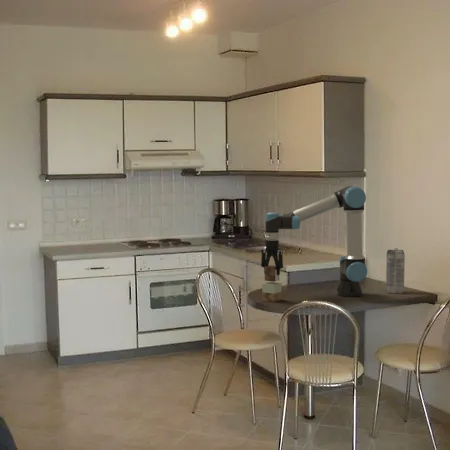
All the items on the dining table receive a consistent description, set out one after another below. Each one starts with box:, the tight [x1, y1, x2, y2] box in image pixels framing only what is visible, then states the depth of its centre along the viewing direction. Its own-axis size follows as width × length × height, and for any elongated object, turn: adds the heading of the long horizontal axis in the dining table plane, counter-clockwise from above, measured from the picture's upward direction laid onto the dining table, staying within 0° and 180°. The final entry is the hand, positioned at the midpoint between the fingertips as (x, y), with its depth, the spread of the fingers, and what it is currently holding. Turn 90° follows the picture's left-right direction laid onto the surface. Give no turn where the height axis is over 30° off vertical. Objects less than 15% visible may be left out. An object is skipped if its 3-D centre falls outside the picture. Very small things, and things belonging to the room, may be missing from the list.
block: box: [264, 265, 276, 282], centre depth 407 cm, size 6×6×8 cm
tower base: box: [261, 291, 283, 303], centre depth 408 cm, size 8×8×5 cm
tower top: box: [261, 281, 282, 294], centre depth 407 cm, size 8×8×5 cm
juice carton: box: [385, 247, 406, 295], centre depth 429 cm, size 9×10×27 cm
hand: (271, 279), depth 407 cm, fingers closed on block, 6 cm apart
